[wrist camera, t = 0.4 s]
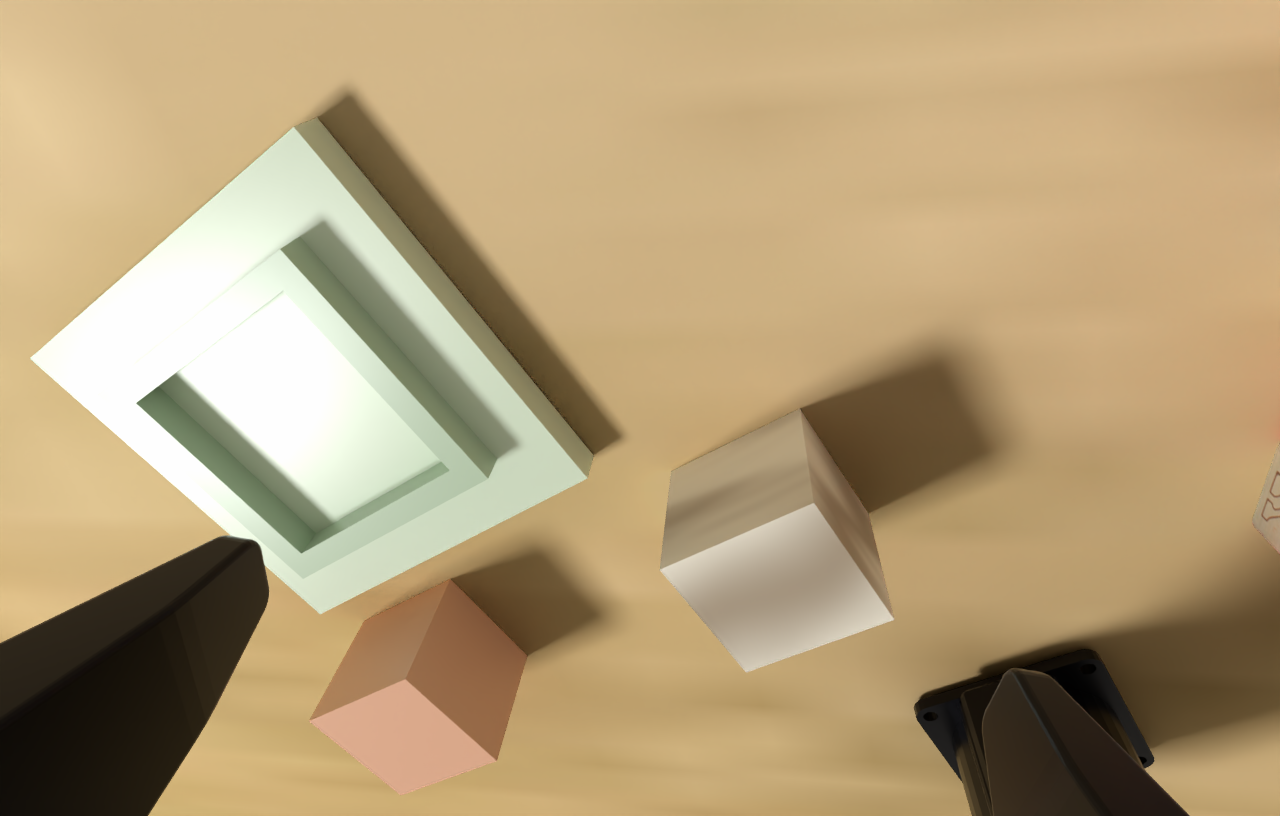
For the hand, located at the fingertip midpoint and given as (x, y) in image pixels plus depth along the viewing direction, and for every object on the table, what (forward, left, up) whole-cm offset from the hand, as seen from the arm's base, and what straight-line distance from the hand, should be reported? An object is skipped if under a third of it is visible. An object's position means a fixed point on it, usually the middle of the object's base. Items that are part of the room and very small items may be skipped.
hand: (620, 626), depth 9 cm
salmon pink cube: (-8, +16, -13) cm, 22 cm away
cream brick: (-8, +2, -13) cm, 15 cm away
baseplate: (+2, +12, -13) cm, 18 cm away
